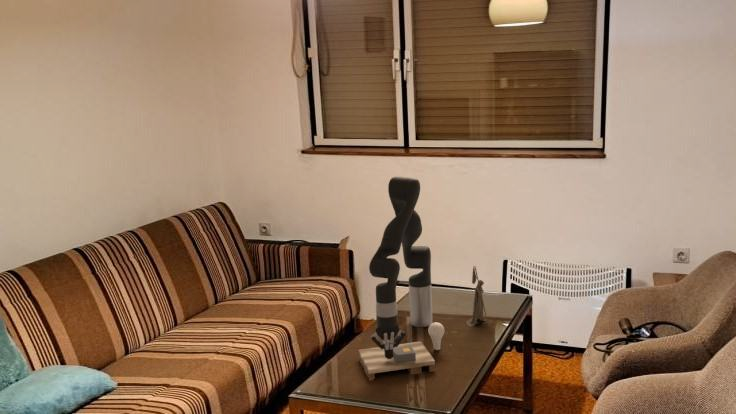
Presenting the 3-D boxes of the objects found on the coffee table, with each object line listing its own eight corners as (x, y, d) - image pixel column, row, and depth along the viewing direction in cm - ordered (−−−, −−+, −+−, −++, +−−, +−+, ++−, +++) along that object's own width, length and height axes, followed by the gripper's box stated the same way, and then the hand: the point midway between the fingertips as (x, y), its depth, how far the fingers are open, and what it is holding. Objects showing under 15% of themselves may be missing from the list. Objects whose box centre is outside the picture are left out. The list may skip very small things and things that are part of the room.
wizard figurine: (484, 328, 290) (484, 269, 284) (464, 326, 293) (463, 267, 287) (490, 319, 299) (489, 262, 294) (470, 317, 302) (469, 260, 297)
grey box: (392, 356, 258) (392, 348, 257) (411, 353, 259) (410, 345, 259) (396, 363, 252) (396, 354, 252) (415, 360, 254) (415, 352, 253)
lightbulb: (446, 347, 273) (445, 320, 271) (443, 354, 267) (442, 326, 265) (431, 346, 275) (430, 319, 273) (427, 352, 269) (426, 325, 267)
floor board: (359, 359, 266) (358, 349, 266) (421, 351, 271) (420, 341, 270) (369, 380, 249) (368, 370, 248) (435, 371, 254) (434, 360, 253)
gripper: (402, 306, 256) (404, 351, 260) (366, 311, 253) (368, 356, 257) (407, 314, 249) (409, 360, 252) (370, 318, 246) (373, 365, 250)
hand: (388, 358), depth 255 cm, fingers closed
